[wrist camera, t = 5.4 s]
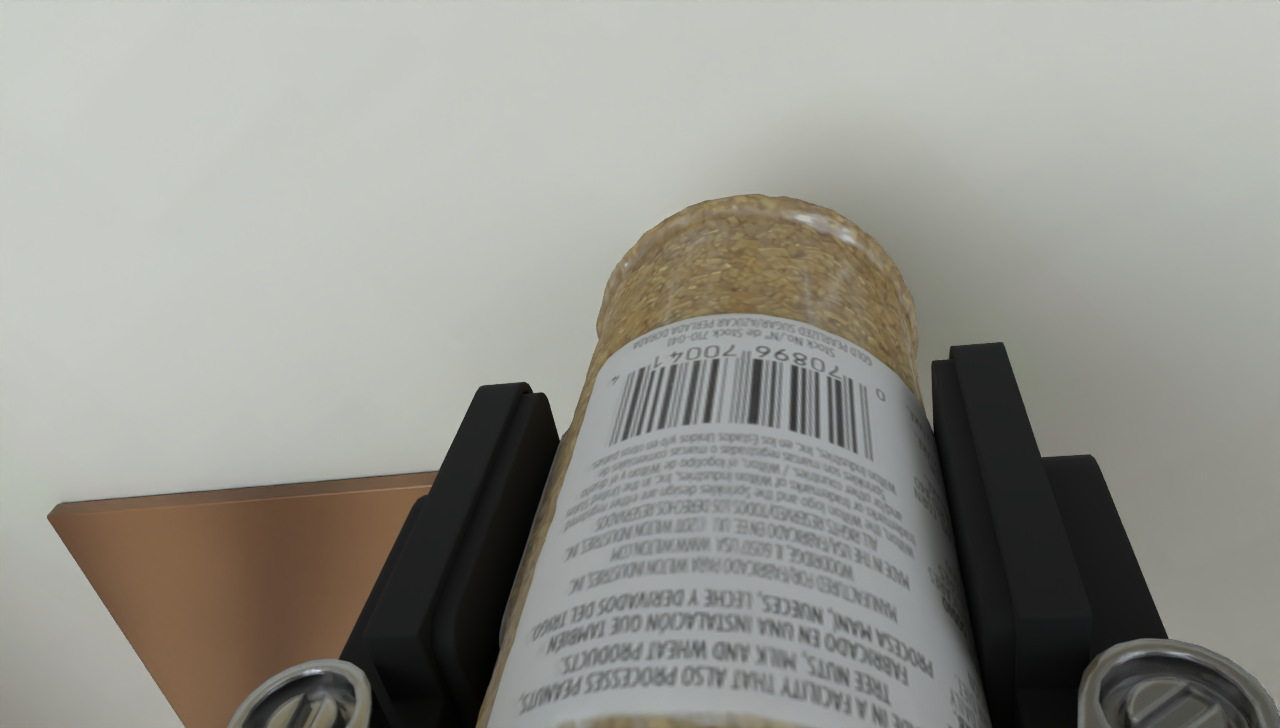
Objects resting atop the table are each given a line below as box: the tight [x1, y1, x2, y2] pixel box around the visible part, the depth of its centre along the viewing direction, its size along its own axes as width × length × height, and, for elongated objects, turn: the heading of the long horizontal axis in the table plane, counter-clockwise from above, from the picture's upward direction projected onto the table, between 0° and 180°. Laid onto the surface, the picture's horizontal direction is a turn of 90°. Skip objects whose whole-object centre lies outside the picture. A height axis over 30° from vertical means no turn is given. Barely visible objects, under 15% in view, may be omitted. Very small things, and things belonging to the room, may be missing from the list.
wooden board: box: [47, 472, 438, 728], centre depth 26 cm, size 20×12×1 cm, turn 100°
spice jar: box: [475, 194, 992, 728], centre depth 9 cm, size 5×5×13 cm
